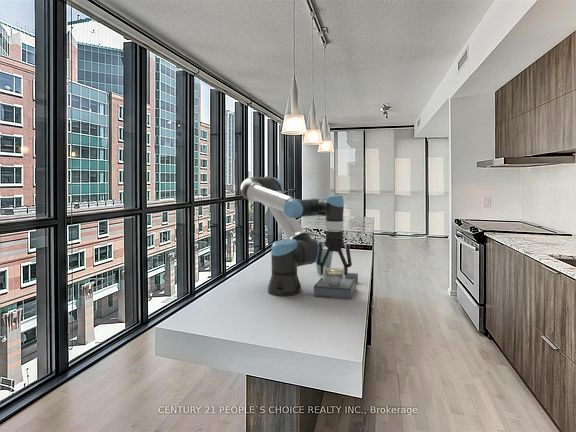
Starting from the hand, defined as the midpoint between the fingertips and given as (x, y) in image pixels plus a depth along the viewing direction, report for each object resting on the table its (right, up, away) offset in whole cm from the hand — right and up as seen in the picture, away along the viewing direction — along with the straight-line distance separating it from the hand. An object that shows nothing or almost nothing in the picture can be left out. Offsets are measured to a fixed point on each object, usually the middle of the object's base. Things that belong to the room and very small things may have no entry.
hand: (333, 281), depth 173 cm
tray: (+5, -4, +15) cm, 17 cm away
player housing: (+1, -6, +3) cm, 6 cm away
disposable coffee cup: (-1, -3, +40) cm, 40 cm away
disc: (0, +4, 0) cm, 4 cm away
